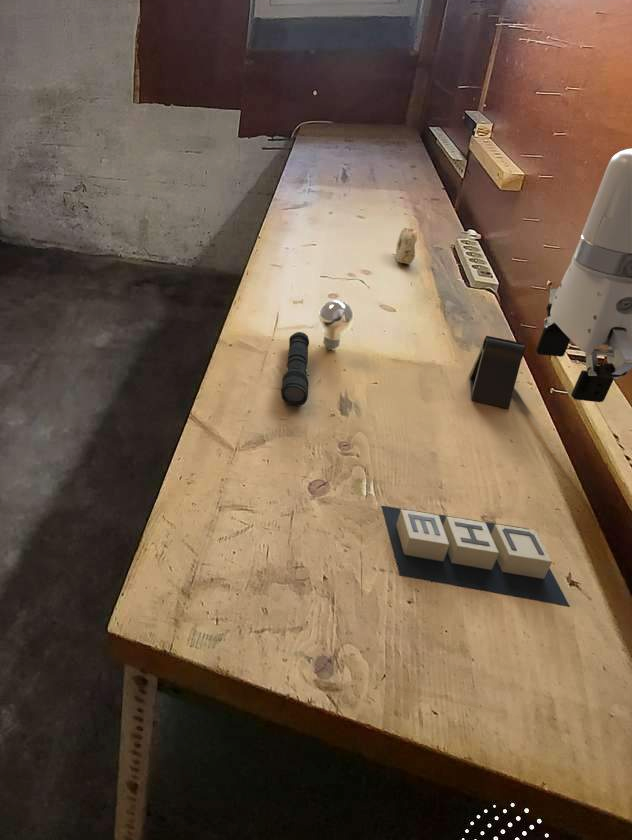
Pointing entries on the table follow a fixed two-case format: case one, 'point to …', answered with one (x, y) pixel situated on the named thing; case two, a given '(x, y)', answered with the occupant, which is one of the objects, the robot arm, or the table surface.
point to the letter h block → (470, 543)
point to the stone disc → (406, 245)
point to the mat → (471, 570)
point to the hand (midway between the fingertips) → (566, 375)
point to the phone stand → (496, 371)
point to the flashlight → (296, 371)
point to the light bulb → (335, 321)
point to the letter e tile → (422, 535)
